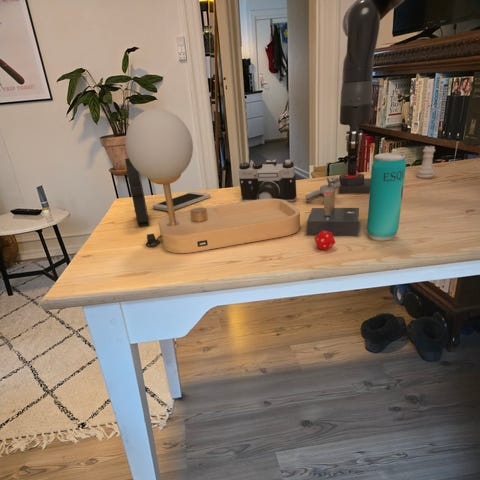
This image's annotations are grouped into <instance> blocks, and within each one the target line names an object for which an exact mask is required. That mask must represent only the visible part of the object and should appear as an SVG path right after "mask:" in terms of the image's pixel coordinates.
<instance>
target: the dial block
mask: <svg viewBox="0 0 480 480" xmlns="http://www.w3.org/2000/svg"><path fill="white" fill-rule="evenodd" d="M304 214H309V215H308V218H307V220H306V236H317V235H318V234H319V233H320V232H321V231H322V230H325V231H329V232H332V234H333V236H337V237H339V236H342V237H343V236H344V237H345V236H347V237H357V236H358V234H359V233H358V232H359V217H360V207H335V208H334V210H333V212H332V215H331V217H324V207H312V208H311V210H310V211H304Z"/></svg>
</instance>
